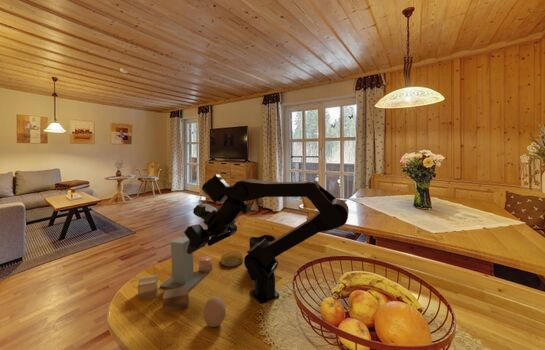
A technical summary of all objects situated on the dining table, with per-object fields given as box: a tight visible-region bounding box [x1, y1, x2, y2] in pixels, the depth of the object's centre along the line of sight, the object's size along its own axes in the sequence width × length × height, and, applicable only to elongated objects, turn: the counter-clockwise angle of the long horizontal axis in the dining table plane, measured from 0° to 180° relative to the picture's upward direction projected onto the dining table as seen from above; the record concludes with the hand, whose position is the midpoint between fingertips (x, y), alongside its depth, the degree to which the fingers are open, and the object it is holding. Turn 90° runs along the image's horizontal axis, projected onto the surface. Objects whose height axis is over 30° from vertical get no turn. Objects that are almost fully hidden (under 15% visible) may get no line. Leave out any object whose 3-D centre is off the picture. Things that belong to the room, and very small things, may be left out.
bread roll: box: [220, 248, 244, 267], centre depth 88 cm, size 8×9×4 cm
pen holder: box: [249, 234, 277, 250], centre depth 84 cm, size 9×9×10 cm
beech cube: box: [137, 274, 159, 301], centre depth 68 cm, size 4×4×4 cm
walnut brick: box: [162, 286, 190, 314], centre depth 63 cm, size 6×4×4 cm, turn 107°
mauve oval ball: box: [202, 296, 227, 328], centre depth 55 cm, size 5×5×7 cm
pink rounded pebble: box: [198, 255, 213, 274], centre depth 82 cm, size 4×4×4 cm
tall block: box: [170, 236, 195, 284], centre depth 74 cm, size 4×4×13 cm
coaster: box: [159, 271, 207, 292], centre depth 75 cm, size 10×10×1 cm
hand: (198, 248), depth 73 cm, fingers open, 9 cm apart
